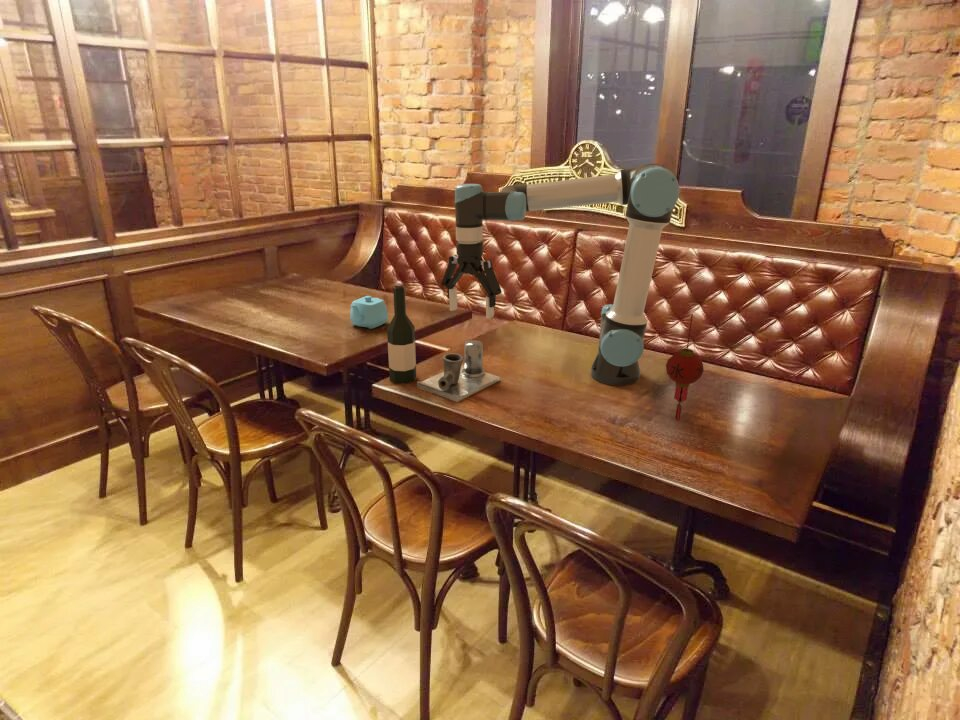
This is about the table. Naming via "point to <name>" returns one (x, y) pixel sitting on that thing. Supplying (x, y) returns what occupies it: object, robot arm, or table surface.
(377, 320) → the teapot
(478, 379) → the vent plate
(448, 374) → the pipe
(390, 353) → the wine bottle
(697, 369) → the lantern
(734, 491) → the table surface
